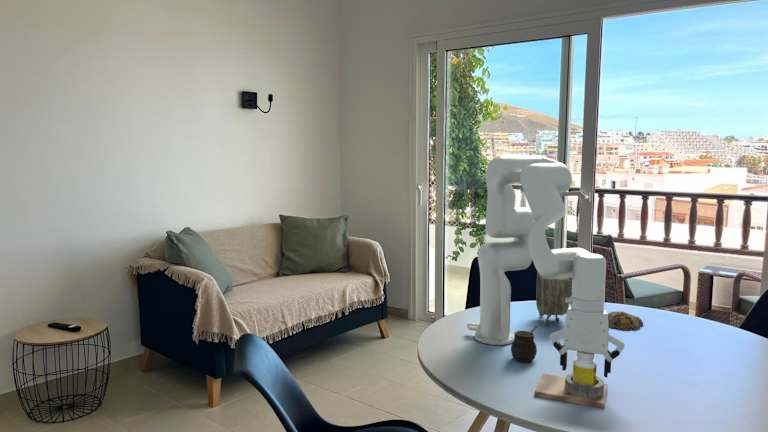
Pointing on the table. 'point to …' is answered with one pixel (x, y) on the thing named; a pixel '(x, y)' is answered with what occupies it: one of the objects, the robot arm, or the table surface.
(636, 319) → the bread roll
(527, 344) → the mate gourd
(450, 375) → the table surface
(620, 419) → the table surface
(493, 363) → the table surface
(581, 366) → the supplement bottle
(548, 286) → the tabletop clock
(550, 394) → the collar board
